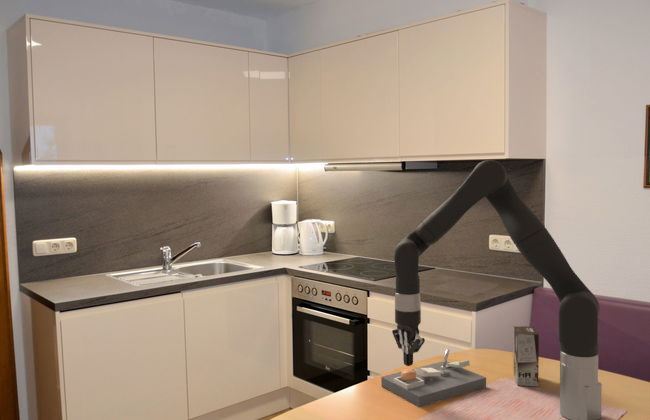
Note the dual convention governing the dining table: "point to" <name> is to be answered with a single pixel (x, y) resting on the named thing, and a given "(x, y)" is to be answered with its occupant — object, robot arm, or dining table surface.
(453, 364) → the paddle switch
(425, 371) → the rocker switch
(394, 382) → the control panel
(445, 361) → the toggle lever
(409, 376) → the push button
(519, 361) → the coffee box
